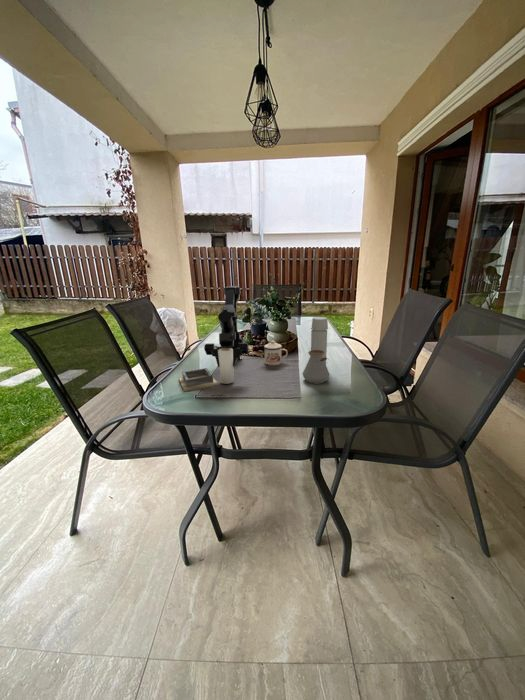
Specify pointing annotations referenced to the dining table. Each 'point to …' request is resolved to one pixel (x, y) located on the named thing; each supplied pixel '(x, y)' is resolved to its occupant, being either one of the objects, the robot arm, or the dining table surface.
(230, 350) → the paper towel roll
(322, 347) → the water bottle
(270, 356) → the teacup with lid
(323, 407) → the dining table surface
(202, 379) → the roll holder
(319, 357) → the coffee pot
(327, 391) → the dining table surface
